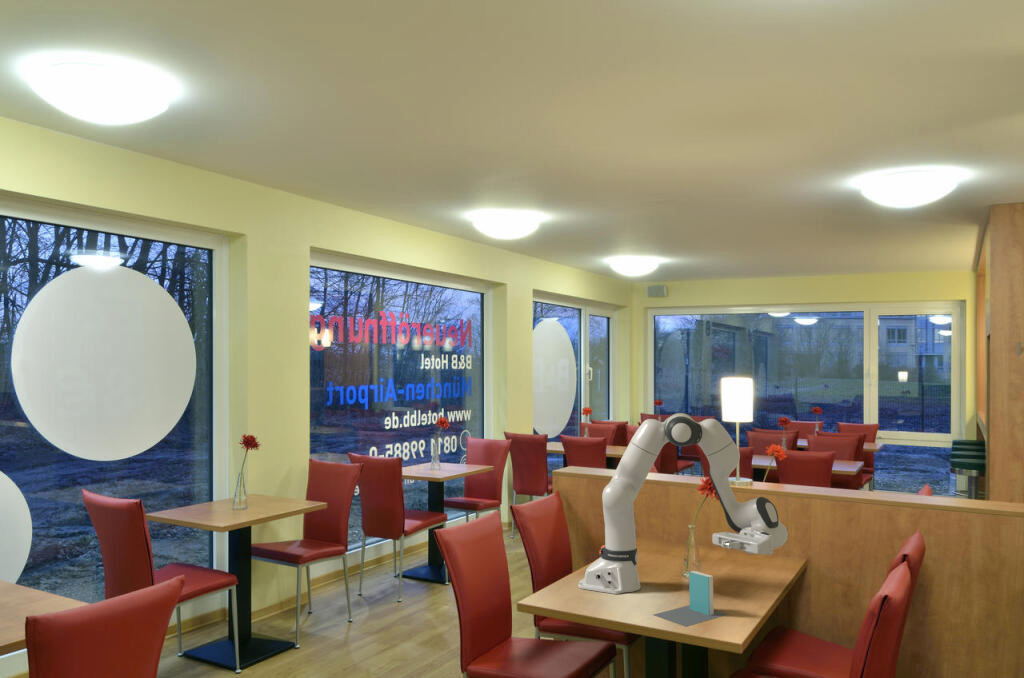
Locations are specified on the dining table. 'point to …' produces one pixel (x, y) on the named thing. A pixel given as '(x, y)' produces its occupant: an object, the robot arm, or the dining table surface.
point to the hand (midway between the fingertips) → (725, 545)
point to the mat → (688, 616)
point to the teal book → (701, 592)
